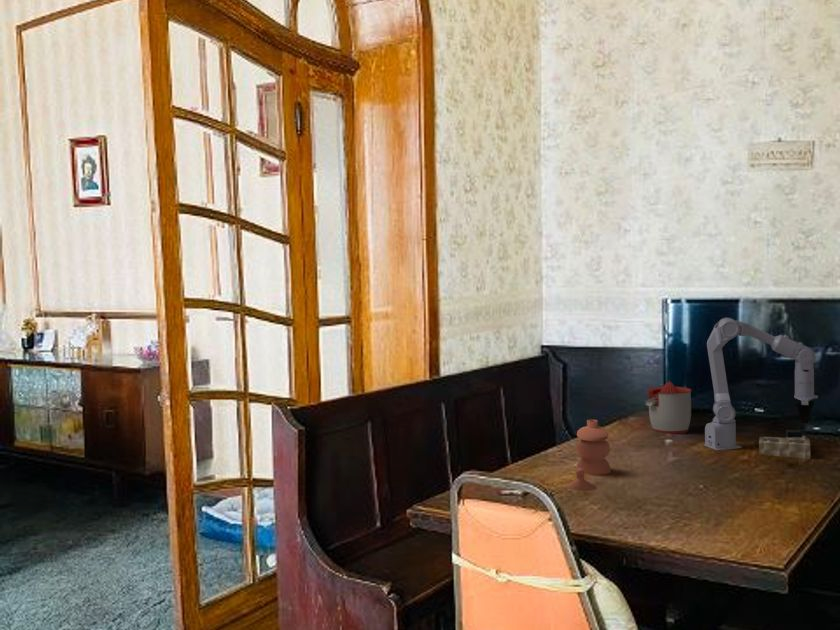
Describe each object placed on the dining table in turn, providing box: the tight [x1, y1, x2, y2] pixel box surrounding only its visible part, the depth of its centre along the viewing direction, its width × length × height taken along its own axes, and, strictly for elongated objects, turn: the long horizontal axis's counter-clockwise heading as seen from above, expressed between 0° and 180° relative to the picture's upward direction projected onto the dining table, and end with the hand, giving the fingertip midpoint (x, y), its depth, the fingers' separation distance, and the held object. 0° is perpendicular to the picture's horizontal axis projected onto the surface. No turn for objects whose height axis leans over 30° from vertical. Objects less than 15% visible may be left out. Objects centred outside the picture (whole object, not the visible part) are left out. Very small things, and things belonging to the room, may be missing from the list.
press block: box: [758, 436, 811, 460], centre depth 256 cm, size 15×9×5 cm, turn 65°
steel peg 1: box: [765, 439, 778, 442], centre depth 258 cm, size 4×4×5 cm
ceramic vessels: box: [565, 419, 611, 492], centre depth 222 cm, size 35×21×19 cm, turn 157°
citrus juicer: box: [645, 381, 692, 435], centre depth 293 cm, size 16×17×20 cm
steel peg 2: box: [790, 440, 804, 443], centre depth 255 cm, size 4×4×5 cm
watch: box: [785, 429, 809, 439], centre depth 264 cm, size 6×8×11 cm
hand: (804, 422), depth 259 cm, fingers closed
